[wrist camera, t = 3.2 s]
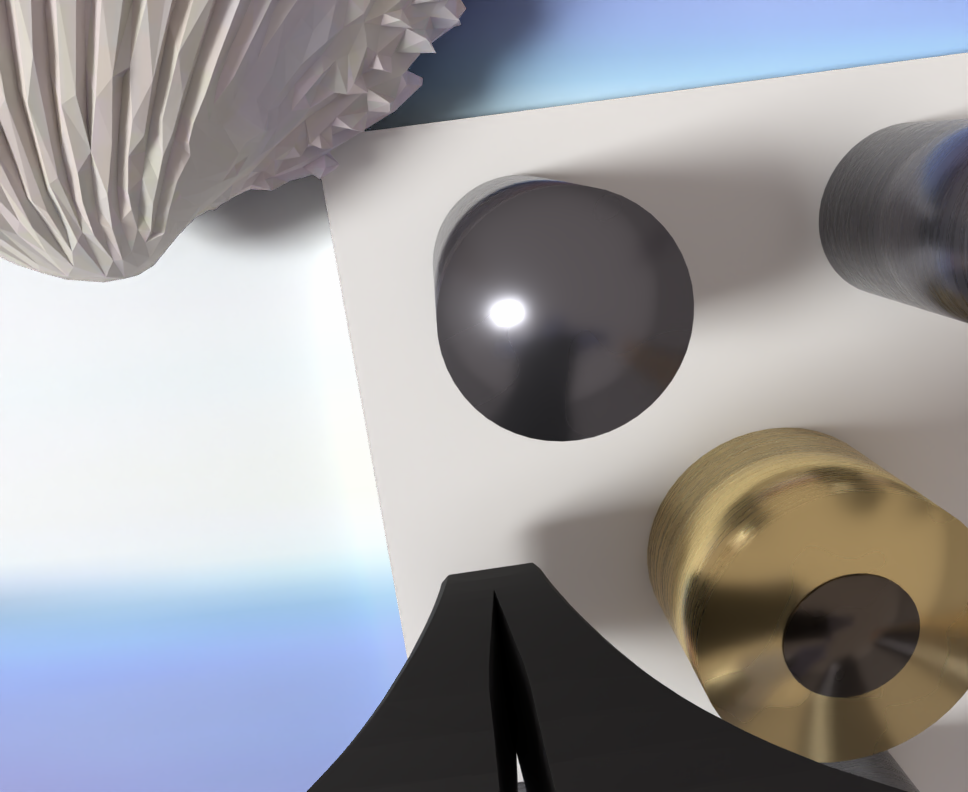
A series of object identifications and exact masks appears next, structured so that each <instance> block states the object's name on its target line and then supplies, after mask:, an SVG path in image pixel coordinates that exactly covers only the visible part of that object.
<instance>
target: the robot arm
mask: <svg viewBox="0 0 968 792" xmlns="http://www.w3.org/2000/svg"><path fill="white" fill-rule="evenodd" d="M517 757H518V761H519V765H520V769H521V773H522V777H523V781H524V784H525V788H526V792H907V791H904V790H901V789H898V788H895V787H892V786H888V785H885V784H882V783H879V782H876V781H873V780H870V779H867V778H863V777H860V776H857V775H854V774H851V773H848V772H845V771H841V770H838V769H835V768H832V767H829V766H827V765H824V764H821V763H818V762H816V761H814V760H811V759H809V758H806V757H804V756H801V755H799V754H796V753H794V752H791V751H789V750H787V749H784V748H782V747H779V746H777V745H774V744H772V743H770V742H768V741H766V740H763V739H761V738H759V737H757V736H755V735H752V734H750V733H748V732H746V731H744V730H742V729H740V728H738V727H736V726H734V725H732V724H730V723H728V722H727V721H725V720H723V719H721V718H719V717H717V716H715V715H713V714H711V713H709V712H708V711H706V710H704V709H702V708H700V707H699V706H697V705H695V704H693V703H692V702H690V701H688V700H687V699H685V698H683V697H682V696H680V695H678V694H677V693H675V692H674V691H672V690H671V689H669V688H668V687H666V686H665V685H663V684H662V683H660V682H659V681H657V680H656V679H654V678H653V677H652V676H650V675H649V674H648V673H646V672H645V671H644V670H642V669H641V668H640V667H638V666H637V665H636V664H635V663H633V662H632V661H631V660H630V659H629V658H627V657H626V656H625V655H624V654H622V653H621V652H620V651H619V650H618V649H616V648H615V647H614V646H613V645H612V644H611V643H610V642H608V641H607V640H606V639H605V638H604V637H603V636H602V635H601V634H600V633H599V632H597V631H596V630H595V629H594V628H593V627H592V626H591V625H590V624H589V623H588V622H587V621H586V620H585V619H584V618H583V617H582V616H581V615H580V614H579V613H578V612H577V611H576V610H575V609H574V608H573V607H572V606H571V605H570V604H569V603H568V602H567V600H566V599H565V598H564V597H563V596H562V595H561V594H560V593H559V592H558V590H557V589H556V588H555V587H554V586H553V584H552V583H551V582H550V581H549V579H548V578H547V577H546V576H545V574H544V573H543V571H542V570H541V569H540V568H539V567H538V566H536V565H535V564H534V563H533V562H532V563H525V564H519V565H512V566H505V567H498V568H492V569H485V570H478V571H471V572H465V573H458V574H451V575H448V576H447V577H446V578H445V580H444V581H443V582H442V583H441V587H440V591H439V594H438V596H437V599H436V602H435V604H434V607H433V609H432V611H431V614H430V616H429V618H428V620H427V623H426V625H425V627H424V629H423V631H422V633H421V635H420V637H419V639H418V641H417V642H416V644H415V646H414V648H413V650H412V652H411V654H410V656H409V658H408V660H407V661H406V663H405V665H404V666H403V668H402V670H401V671H400V673H399V675H398V676H397V678H396V679H395V681H394V683H393V684H392V686H391V687H390V689H389V691H388V692H387V694H386V696H385V697H384V699H383V700H382V702H381V703H380V705H379V706H378V707H377V709H376V710H375V712H374V713H373V715H372V716H371V717H370V719H369V720H368V721H367V723H366V724H365V725H364V727H363V728H362V729H361V731H360V732H359V733H358V734H357V736H356V737H355V738H354V740H353V741H352V742H351V743H350V745H349V746H348V747H347V748H346V750H345V751H344V752H343V753H342V754H341V755H340V756H339V758H338V759H337V760H336V761H335V762H334V763H333V764H332V765H331V766H330V768H329V769H328V770H327V771H326V772H325V773H324V774H323V775H322V776H321V777H320V778H319V779H318V780H317V781H316V782H315V783H314V784H313V786H312V787H311V788H310V789H309V790H308V791H307V792H518V774H517Z"/></svg>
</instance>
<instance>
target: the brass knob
mask: <svg viewBox="0 0 968 792" xmlns="http://www.w3.org/2000/svg"><path fill="white" fill-rule="evenodd" d="M647 565H648V572H649V579H650V582H651V585H652V589H653V592H654V594H655V596H656V598H657V600H658V602H659V605H660V607H661V608H662V610H663V612H664V614H665V616H666V618H667V620H668V622H669V624H670V626H671V628H672V629H673V631H674V633H675V635H676V637H677V639H678V641H679V643H680V645H681V647H682V649H683V651H684V652H685V654H686V656H687V658H688V660H689V662H690V664H691V666H692V668H693V670H694V672H695V673H696V675H697V677H698V679H699V681H700V683H701V685H702V687H703V689H704V691H705V693H706V695H707V696H708V698H709V700H710V702H711V704H712V706H713V707H714V709H715V710H716V712H717V713H718V715H719V716H720V718H721V719H723V720H725V721H727V722H728V723H730V724H732V725H734V726H736V727H738V728H740V729H742V730H744V731H746V732H748V733H750V734H752V735H755V736H757V737H759V738H761V739H763V740H766V741H768V742H770V743H772V744H774V745H777V746H779V747H782V748H784V749H787V750H789V751H791V752H794V753H796V754H799V755H801V756H804V757H806V758H809V759H811V760H814V761H816V762H818V763H831V762H840V761H849V760H854V759H859V758H863V757H868V756H871V755H874V754H877V753H880V752H883V751H886V750H888V749H890V748H893V747H895V746H897V745H900V744H902V743H904V742H906V741H907V740H909V739H911V738H913V737H914V736H916V735H918V734H920V733H921V732H923V731H924V730H925V729H927V728H928V727H930V726H931V725H933V724H934V723H935V722H937V721H938V720H939V719H940V718H941V717H942V716H943V715H945V714H946V713H947V712H948V711H949V710H950V709H951V708H952V707H953V706H954V705H955V704H956V703H957V702H958V701H959V700H960V699H961V697H962V696H963V695H964V694H965V693H966V691H967V690H968V528H967V527H966V526H965V525H964V524H963V523H962V522H961V521H960V520H958V519H957V518H955V517H954V516H952V515H951V514H950V513H948V512H947V511H945V510H944V509H942V508H941V507H939V506H938V505H936V504H935V503H933V502H932V501H931V500H929V499H928V498H926V497H925V496H923V495H922V494H920V493H919V492H917V491H916V490H914V489H913V488H911V487H910V486H908V485H907V484H906V483H904V482H903V481H901V480H900V479H898V478H897V477H895V476H894V475H892V474H891V473H889V472H888V471H886V470H885V469H884V468H882V467H881V466H879V465H878V464H876V463H875V462H873V461H872V460H870V459H869V458H867V457H866V456H864V455H863V454H861V453H860V452H859V451H857V450H856V449H854V448H853V447H851V446H850V445H848V444H847V443H845V442H843V441H841V440H839V439H837V438H835V437H833V436H830V435H827V434H824V433H821V432H818V431H814V430H808V429H802V428H773V429H765V430H760V431H755V432H751V433H748V434H745V435H742V436H739V437H736V438H733V439H731V440H729V441H727V442H725V443H723V444H721V445H719V446H717V447H716V448H714V449H712V450H711V451H709V452H708V453H706V454H704V455H703V456H702V457H701V458H699V459H698V460H697V461H696V462H694V463H693V464H692V465H691V466H690V467H689V468H688V469H687V470H686V471H685V472H684V473H683V474H682V475H681V476H680V477H679V478H678V479H677V480H676V482H675V483H674V484H673V486H672V487H671V488H670V490H669V491H668V493H667V494H666V496H665V498H664V499H663V501H662V503H661V504H660V506H659V509H658V511H657V513H656V516H655V518H654V521H653V524H652V528H651V531H650V535H649V542H648V549H647Z"/></svg>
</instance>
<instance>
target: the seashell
mask: <svg viewBox="0 0 968 792" xmlns="http://www.w3.org/2000/svg"><path fill="white" fill-rule="evenodd" d="M465 10H466V7H465V6H464V4H463V2H462V1H461V0H0V257H1V258H3V259H5V260H7V261H9V262H12V263H14V264H17V265H19V266H22V267H25V268H28V269H31V270H34V271H37V272H41V273H45V274H48V275H52V276H56V277H60V278H64V279H68V280H81V281H94V282H108V281H114V280H119V279H125V278H129V277H133V276H136V275H139V274H141V273H142V272H144V271H145V270H147V269H149V268H150V267H152V266H153V265H155V263H156V262H157V261H158V260H159V258H160V257H161V256H162V255H163V253H164V252H165V251H166V250H167V249H168V247H169V246H170V245H171V244H172V242H173V241H174V240H175V239H176V237H177V236H178V235H179V234H180V233H181V232H182V231H183V230H184V229H185V228H186V227H187V226H188V225H189V224H190V223H191V222H192V221H193V220H194V219H195V218H196V217H197V216H199V215H201V214H203V213H204V212H206V211H208V210H216V209H217V208H218V207H219V206H220V205H222V204H223V203H225V202H227V201H229V200H230V199H231V198H233V197H235V196H237V195H239V194H241V193H243V192H245V191H247V190H249V189H255V190H274V189H276V188H278V187H280V186H282V185H283V184H285V183H287V182H289V181H292V180H296V179H300V178H303V177H307V176H311V175H314V176H316V177H317V178H318V179H321V178H322V177H324V176H326V175H327V174H329V173H330V172H332V171H333V170H335V169H336V168H337V167H338V166H339V163H338V162H337V161H336V160H335V159H334V158H333V157H332V155H331V152H330V151H331V150H333V149H334V148H336V147H337V146H339V145H341V144H342V143H344V142H345V141H347V140H349V139H350V138H352V137H353V136H355V135H357V134H358V133H360V132H364V131H365V129H367V128H368V127H370V126H371V125H373V124H375V123H376V122H378V121H380V120H381V119H383V118H385V117H386V116H388V115H389V114H391V113H393V112H394V111H396V110H397V109H398V108H399V107H400V106H401V105H402V104H403V103H404V102H405V101H406V100H407V99H408V98H409V97H410V96H411V95H412V94H413V93H414V92H415V91H416V90H418V89H419V88H420V87H421V86H422V83H423V78H422V77H420V76H418V75H415V74H413V73H411V72H409V71H407V70H408V69H409V67H410V65H411V64H412V63H413V62H414V61H415V60H416V58H417V57H418V56H419V55H420V54H421V53H436V52H435V50H434V47H433V45H432V43H433V42H434V41H435V40H437V39H438V38H439V37H441V36H442V35H443V34H445V33H446V32H447V31H449V30H450V29H451V28H453V27H455V26H459V25H461V23H460V20H459V18H460V17H461V15H462V14H463V13H464V11H465Z"/></svg>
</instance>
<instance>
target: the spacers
mask: <svg viewBox="0 0 968 792" xmlns="http://www.w3.org/2000/svg"><path fill="white" fill-rule="evenodd" d="M819 235H820V240H821V244H822V247H823V250H824V253H825V255H826V257H827V259H828V261H829V263H830V265H831V266H832V267H833V269H834V270H835V272H836V273H837V274H838V275H839V276H840V277H841V278H842V279H844V280H845V281H846V282H848V283H849V284H850V285H852V286H854V287H856V288H858V289H860V290H862V291H865V292H868V293H871V294H874V295H877V296H881V297H884V298H887V299H890V300H894V301H897V302H900V303H903V304H907V305H910V306H913V307H916V308H920V309H923V310H926V311H929V312H933V313H936V314H939V315H942V316H946V317H949V318H952V319H955V320H959V321H962V322H965V323H968V118H967V119H953V120H938V121H924V122H910V123H901V124H896V125H891V126H889V127H886V128H883V129H880V130H878V131H876V132H874V133H872V134H870V135H869V136H867V137H866V138H864V139H863V140H861V141H860V142H859V143H858V144H856V145H855V146H854V147H853V148H852V149H851V150H850V151H849V152H848V153H847V154H846V155H845V156H844V157H843V158H842V160H841V161H840V162H839V164H838V165H837V166H836V168H835V169H834V171H833V173H832V175H831V176H830V178H829V180H828V183H827V185H826V187H825V190H824V193H823V196H822V199H821V205H820V210H819ZM433 276H434V291H435V306H436V321H437V334H438V341H439V345H440V350H441V354H442V357H443V360H444V362H445V365H446V368H447V370H448V372H449V374H450V376H451V378H452V380H453V382H454V384H455V385H456V386H457V388H458V389H459V391H460V392H461V393H462V395H463V396H464V397H465V398H466V400H467V401H468V402H469V403H470V404H471V405H472V406H473V407H474V408H475V409H476V410H477V411H478V412H480V413H481V414H482V415H483V416H485V417H486V418H487V419H489V420H490V421H492V422H493V423H495V424H497V425H498V426H500V427H502V428H504V429H506V430H508V431H511V432H513V433H515V434H518V435H522V436H525V437H528V438H532V439H538V440H544V441H560V442H564V441H576V440H582V439H587V438H592V437H596V436H599V435H602V434H605V433H608V432H610V431H612V430H614V429H617V428H619V427H621V426H623V425H625V424H626V423H628V422H629V421H631V420H633V419H634V418H636V417H637V416H639V415H640V414H641V413H642V412H644V411H645V410H646V409H647V408H648V407H650V406H651V405H652V404H653V403H654V402H655V401H656V400H657V399H658V398H659V397H660V395H661V394H662V393H663V392H664V391H665V389H666V388H667V387H668V385H669V384H670V383H671V381H672V380H673V378H674V376H675V375H676V373H677V371H678V369H679V368H680V366H681V364H682V361H683V359H684V356H685V354H686V352H687V349H688V345H689V341H690V338H691V334H692V327H693V320H694V297H693V288H692V282H691V278H690V275H689V271H688V267H687V265H686V263H685V260H684V258H683V255H682V253H681V251H680V249H679V248H678V246H677V244H676V242H675V241H674V239H673V238H672V236H671V235H670V234H669V233H668V231H667V230H666V229H665V227H664V226H663V225H662V224H661V223H660V222H659V221H658V220H657V219H656V218H655V217H654V216H653V215H652V214H651V213H649V212H648V211H646V210H645V209H644V208H642V207H641V206H640V205H638V204H637V203H635V202H633V201H631V200H629V199H627V198H625V197H623V196H621V195H619V194H616V193H613V192H610V191H608V190H604V189H599V188H595V187H590V186H585V185H579V184H574V183H568V182H563V181H558V180H552V179H547V178H541V177H536V176H529V175H510V176H504V177H499V178H496V179H493V180H490V181H487V182H485V183H483V184H481V185H479V186H477V187H475V188H474V189H472V190H471V191H469V192H468V193H466V194H465V195H464V196H463V197H462V198H461V199H460V200H459V201H458V202H457V203H456V204H455V205H454V206H453V208H452V209H451V210H450V211H449V213H448V214H447V216H446V217H445V219H444V221H443V223H442V225H441V227H440V229H439V232H438V235H437V238H436V241H435V246H434V252H433ZM821 764H824V765H827V766H829V767H832V768H835V769H838V770H841V771H845V772H848V773H851V774H854V775H857V776H860V777H863V778H867V779H870V780H873V781H876V782H879V783H882V784H885V785H888V786H892V787H895V788H898V789H901V790H904V791H907V792H920V791H919V790H918V789H917V787H916V786H915V785H914V784H913V782H912V781H911V780H910V778H909V777H908V776H907V775H906V773H905V772H904V771H903V769H902V768H901V767H900V766H899V764H898V763H897V762H896V760H895V759H894V758H893V757H892V755H891V754H890V753H889V752H888V750H886V751H883V752H880V753H877V754H874V755H871V756H868V757H863V758H859V759H854V760H849V761H840V762H831V763H821ZM518 792H526V788H525V784H524V782H518Z"/></svg>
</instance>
